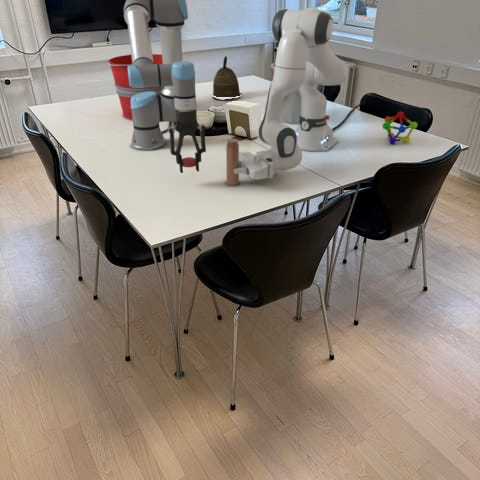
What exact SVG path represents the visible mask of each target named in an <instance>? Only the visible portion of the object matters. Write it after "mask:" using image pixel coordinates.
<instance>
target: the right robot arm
mask: <svg viewBox="0 0 480 480" xmlns="http://www.w3.org/2000/svg"><path fill="white" fill-rule="evenodd" d="M271 31H272V32H271V33H272V35H273V37H274V39H275V40H276V41H277V43H278V46H277V50H276V55H275V60H274V61H275V62H274V63H275V70H274V76H272V80H271V82H270V85H269V88H268V92H267V98H266V104H265V110H264V115H263V117H262V121H261V122H260V125H259V128H258V137H259V139H260V141H261V142H262V143H263V144H265V145H266V144H267V145H268V146H270V149H267V150H261V151H256V152H255V154H253V153H252V152H249V151H239V168H233V172H234V173H235V174H237V173H239V174H241V175H242V174H243V175H247V176H248V177H249V178H250V179H251V180H255V181H257V180H264V179H273V178H274V173H275V172H278V171H280V172H283V171H287V170H291V169H294V168H297V167H298V166H299V165H300V164H301V162H302V159H303V151H307V152H320V151H321V152H327V151H329V150H330V149H331V148H333V146H334V145H336V144H337V143H338V139H337V138H335V137H334V131H335V130H336V129H338V128H339V127H341V126H342V125H343V124H344V123H345V122H346V121H347V119H349V117H350V116H351V114H352V113H353V112H354V111H355V110H356V109H358V108H359V107H361V106H362V105H363V106H365V105H366V104H365V103H364V104H362V105H361V103H359V104H357V105H355V106H354V107H353V108H352V109H350V111H349V112H348V113H347V114H346V117H345V118H344V119H343V120H342V121H340V123H339V124H337V125H335V127H331V126H330V125H329V124H328V121H329V120H330V118H331V115H330V114H326V113H327V112H326V111H327V103H328V100H327V97H326V96H325V95H324V93H323V94H322V92H319V91H318V90H317V89H316V87H315V84H317V85H324V86H329V87H331V86H332V87H333V86H340V85H342V84H343V83H344V82H345V81H346V79H347V77H348V71H349V70H348V69H349V68H348V65H347V63H346V62H345V60H343V59H341V58H339V57H338V56H337V55H336V54H335V53H334V52H333V51H332V49H331V47H330V45H329V41H330V39H331V37H332V34H333V31H334V19H333V18H332V16H331V14H329V13H328V12H325V11H322V10H320V9H319V8H317V7H307V8H305V9H288V8H286V9H285V8H284V9H280V10H278V11H276V13H275V14H274V15H273V19H272V24H271ZM297 89H299V92H300V95H301V115H300V117H299V124H297V125H296V130H294V129H293V128H292V127H290V126H288V125H287V124H284V123H283V122H282V121H281V120H280V114H281V109H282V104H283V100H284V97H285V96H286V95H287V94H288V93H291V92H294V91H296V90H297ZM327 120H328V121H327Z"/></svg>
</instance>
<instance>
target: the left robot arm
mask: <svg viewBox="0 0 480 480" xmlns="http://www.w3.org/2000/svg"><path fill="white" fill-rule="evenodd" d="M123 18H124V21H125V23H126V24H127V30H128V31H127V32H128V38H129V47H130V54H131V56H132V64H133V65H129V66H128V77H129V84H130V86H131V87H133V88H146V87H164V88H163V89H162V90H161V95H157V94H156V92H153V91H152V92H150V91H148V92H142V93H138V94H136V95H134V96H132V98H131V109H132V117H133V120H132V125H133V132H132V135H131V147H132V148H134V149H135V150H141V151H151V150H153V151H154V150H157V149H161V148H163V147H164V146H165V144H166V140H165V137H164V135H163V133H166V132H168V133H169V148H170V154H171V156H174V157H175V162H176V164H177V165H179V173H180V174H184V167H183V166H182V159H183V156H182V154H181V152H182V151H181V150H182V148H183V147H182V146H183V143H184V139H185V137H187V136H189V137H191V138H192V139H191V140H192V141H193V144H194V148H195V150H196V152H194V158H195V159H196V162H197V164H196V166H195V171H196V172H200V163H202V154H203V153H206V152H207V148H206V146H207V145H206V134H205V132H206V128H207V127H206V125H205V123H202V124H200V123H199V122H198V113H197V95H196V70H195V64H194V63H193V62H191V61H189V60H188V61H187V60H183V42H182V40H183V39H182V28H184V26H185V21H186V20H188V19H189V11H188V6H187V0H126V1H125V2H124V6H123ZM150 21H154V22H155V26H156V27H157V28H158V29H159V34H160V47H161V55H162V62H163V64H154V62H153V56H152V54H153V49H152V42H151V36H150V29H149V23H150ZM165 122H166V123H167V122H168V127H167V128H166V129H165V130H161V127H160V123H165ZM172 122H174V123H175V124H174V125H173V126H171V124H172ZM197 129H198V130H199V136H200V144H199V143H198V139H197V136H196V134H195V133H196V131H197ZM176 131H177V132H178V139H177V144H176V146H175V133H176ZM175 147H176V148H175Z"/></svg>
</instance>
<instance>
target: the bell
mask: <svg viewBox="0 0 480 480" xmlns="http://www.w3.org/2000/svg"><path fill="white" fill-rule="evenodd" d="M227 63H228V57H227V56H224V58H223V63H222V67H221V68H219V69H218V70H217V71H216V73H215V75H214V78H213V81H212V83H213V84H212V95H214V96H216V97H236V96H240V95H241V96H242V93H241V92H240V83H239V80H238V79H239V78H238V77H237V75H236V73H235V72H234V70H232V69H231V68H230V67H227Z"/></svg>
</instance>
